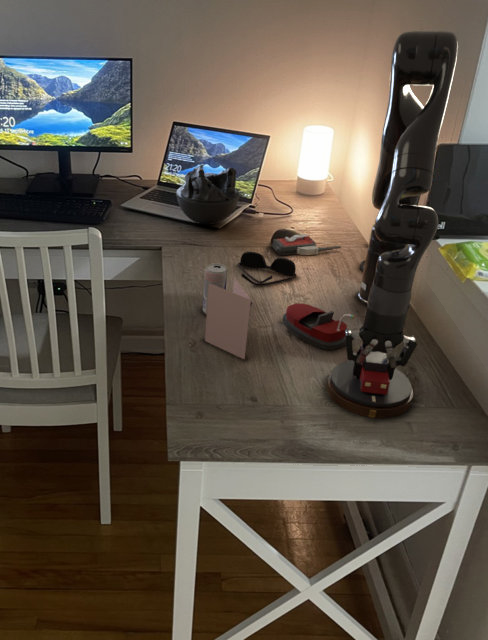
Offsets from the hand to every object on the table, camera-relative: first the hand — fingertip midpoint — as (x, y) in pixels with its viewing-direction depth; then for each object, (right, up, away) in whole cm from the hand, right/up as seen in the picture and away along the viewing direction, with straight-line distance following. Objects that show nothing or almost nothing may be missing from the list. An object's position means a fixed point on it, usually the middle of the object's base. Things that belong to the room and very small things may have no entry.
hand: (371, 377), depth 139 cm
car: (0, -1, +1) cm, 1 cm away
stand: (0, -3, +2) cm, 4 cm away
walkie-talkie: (+1, +35, +65) cm, 73 cm away
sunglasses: (-15, +24, +47) cm, 55 cm away
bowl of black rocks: (-27, +46, +83) cm, 99 cm away
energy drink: (-29, +15, +31) cm, 45 cm away
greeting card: (-28, +6, +16) cm, 33 cm away
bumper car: (-6, +9, +22) cm, 24 cm away
